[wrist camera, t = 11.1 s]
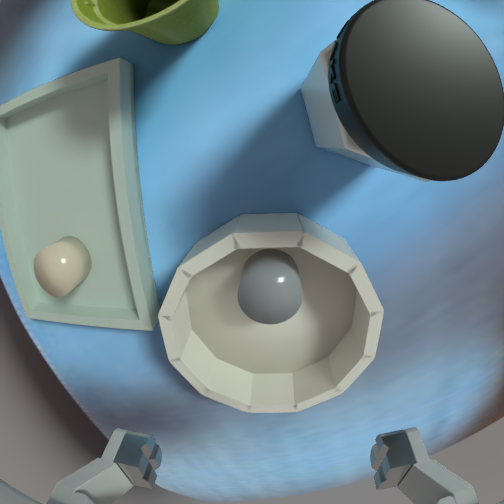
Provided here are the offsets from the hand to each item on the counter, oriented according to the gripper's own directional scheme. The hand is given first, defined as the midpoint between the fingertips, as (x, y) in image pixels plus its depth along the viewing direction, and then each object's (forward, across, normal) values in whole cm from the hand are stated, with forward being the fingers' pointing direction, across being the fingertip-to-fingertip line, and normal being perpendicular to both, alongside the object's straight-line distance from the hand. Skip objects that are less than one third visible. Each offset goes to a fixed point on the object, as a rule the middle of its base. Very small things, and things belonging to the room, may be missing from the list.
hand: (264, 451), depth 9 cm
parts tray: (+17, +18, -6) cm, 25 cm away
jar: (+17, -7, -12) cm, 22 cm away
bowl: (+16, 0, +4) cm, 17 cm away
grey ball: (+16, 0, 0) cm, 16 cm away
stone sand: (+16, +18, -2) cm, 24 cm away
